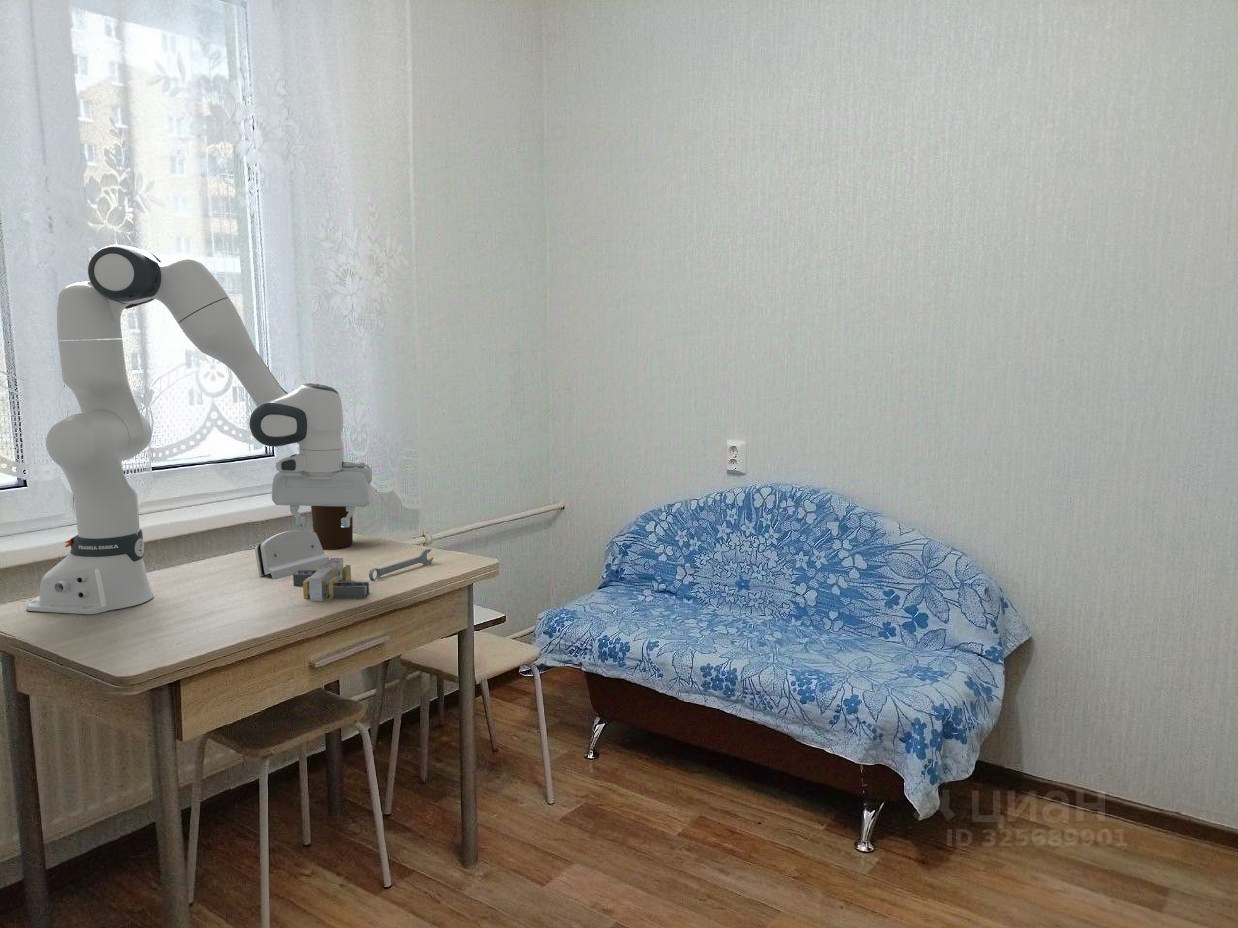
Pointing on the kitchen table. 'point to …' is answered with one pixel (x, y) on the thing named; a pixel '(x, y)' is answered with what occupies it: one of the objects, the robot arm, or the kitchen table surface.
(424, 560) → the combination wrench
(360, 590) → the ball bearing track
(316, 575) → the long grey beam
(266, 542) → the hinge
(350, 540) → the olive oil
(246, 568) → the kitchen table surface
